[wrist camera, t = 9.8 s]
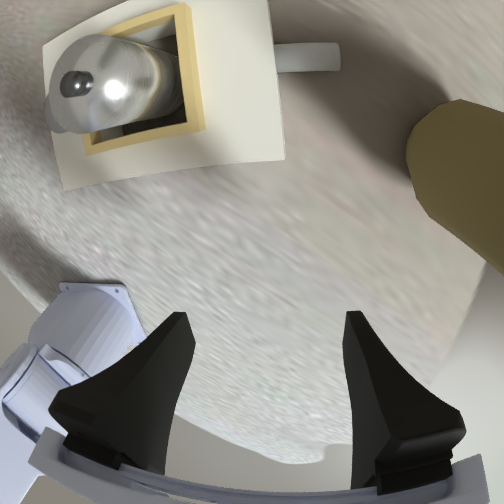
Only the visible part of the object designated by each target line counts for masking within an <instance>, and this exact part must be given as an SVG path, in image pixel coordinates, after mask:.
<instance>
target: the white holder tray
mask: <svg viewBox="0 0 504 504" xmlns="http://www.w3.org/2000/svg"><path fill="white" fill-rule="evenodd" d="M91 34H102V35H107V36H111V37H116V38H120V39H124V40H127V41H131V42H135V43H138V44H145V43H148V42H151V41H154V40H157V39H160V38H164V37H167V36H171V35H175V34H176V37H177V46H178V55H179V64H180V72H181V80H182V88H183V95H184V103H185V110H186V117H187V122H182V123H177V124H172V125H167V126H162V127H157V128H153V129H148V130H144V131H140V132H136V133H132V134H128V135H124V133H123V128H122V125H119V126H115V127H110V128H106V129H102V130H98V131H94V132H91V133H87V134H75V133H71V132H69V131H67V130H65V129H64V128H63V127H61V126H60V125H59V123H58V122H57V121H56V119H55V118H54V116H53V113H52V111H51V108H50V103H49V84H50V79H51V75H52V72H53V69H54V67H55V65H56V63H57V61H58V59H59V58H60V56H61V55H62V53H63V52H64V51H65V50H66V49H67V48H68V47H69V46H70V45H71V44H72V43H73V42H75V41H76V40H78V39H80V38H82V37H84V36H87V35H91ZM340 68H341V56H340V49H339V46H338V44H337V43H289V44H274V39H273V31H272V24H271V17H270V10H269V3H268V0H129V1H126V2H124V3H121V4H119V5H117V6H114V7H112V8H110V9H108V10H106V11H104V12H101V13H99V14H97V15H95V16H93V17H91V18H89V19H87V20H86V21H84V22H82V23H80V24H78V25H76V26H75V27H73V28H71V29H69V30H68V31H66V32H64V33H63V34H61V35H59V36H58V37H56V38H54V39H53V40H51V41H50V42H48V43H47V44H45V45H44V46H43V70H44V83H45V93H46V100H45V104H44V117H45V121H46V124H47V126H48V127H49V128H50V130H51V135H52V141H53V146H54V151H55V156H56V160H57V165H58V169H59V173H60V177H61V181H62V185H63V189H64V191H69V190H73V189H77V188H81V187H86V186H91V185H95V184H100V183H105V182H110V181H115V180H120V179H126V178H131V177H137V176H143V175H149V174H155V173H161V172H168V171H175V170H182V169H190V168H198V167H206V166H215V165H225V164H235V163H247V162H259V161H274V160H285V141H284V129H283V119H282V108H281V99H280V89H279V80H278V73H281V72H299V71H340Z"/></svg>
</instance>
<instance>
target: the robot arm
mask: <svg viewBox="0 0 504 504" xmlns="http://www.w3.org/2000/svg"><path fill="white" fill-rule="evenodd" d="M59 288H60V290H61V293H60V294H59V295H58V296H57V297H56V298H55V300H54V301H53V302H52V303H51V304H50V305H49V306H48V307H47V308H46V309H45V311H44V312H43V313H42V314H41V315H40V317H38V319H37V320H36V321H35V322H34V324H33V325H32V327H31V329H30V332H29V336H28V343H23V344H21V345H20V346H19V347H18V348H17V349H16V350H15V351H14V352H13V353H12V354H11V355H10V356H9V357H8V359H7V360H6V361H5V362H4V364H3V365H2V366H1V368H0V504H20V503H21V501H22V499H23V498H24V496H25V495H26V493H27V492H28V490H29V489H30V487H31V486H32V484H33V483H34V481H35V480H36V478H37V476H43V475H46V476H48V477H49V478H51V479H53V480H54V481H56V482H57V483H59V484H61V485H63V486H64V487H66V488H68V489H70V490H71V491H73V492H75V493H77V494H79V495H81V496H83V497H85V498H86V499H88V500H90V501H93V502H95V503H97V504H194V503H190V502H185V501H181V500H177V499H173V498H170V497H169V496H168V495H167V494H165V493H162V492H166V493H170V494H173V495H177V496H182V497H187V498H191V499H196V500H201V501H206V502H212V503H218V504H488V503H489V502H490V500H489V493H488V487H487V481H486V476H485V471H484V467H483V462H482V457H481V454H477V455H475V456H472V457H469V458H466V459H464V460H461V461H458V462H456V463H454V464H452V465H451V461H450V459H451V458H452V457H453V454H452V449H453V448H454V447H455V446H456V445H457V444H458V443H459V442H460V441H461V440H462V439H463V437H464V436H465V434H466V428H465V424H464V421H463V418H462V416H461V414H460V411H459V410H457V409H455V408H454V407H452V406H450V405H448V404H447V403H445V402H444V401H442V400H440V399H439V398H438V397H436V396H435V395H434V394H432V393H430V392H429V391H428V390H427V389H426V388H425V387H424V386H422V385H421V384H420V383H419V382H417V381H416V380H415V379H414V378H413V377H412V376H411V375H410V374H409V373H408V372H407V371H406V370H405V369H404V368H403V367H402V366H401V365H400V364H399V363H398V361H397V360H396V359H395V358H394V357H393V355H392V354H391V353H390V352H389V351H388V349H387V348H386V347H385V345H384V344H383V343H382V341H381V340H380V339H379V337H378V336H377V334H376V333H375V332H374V330H373V329H372V327H371V326H370V324H369V323H368V321H367V319H366V318H365V316H364V315H363V313H362V312H361V311H347V313H346V321H345V329H344V336H343V343H342V345H343V359H344V368H345V373H346V379H347V384H348V390H349V396H350V402H351V409H352V429H353V455H352V477H351V489H350V490H341V491H327V492H299V493H298V492H295V493H294V492H265V491H251V490H241V489H232V488H224V487H217V486H211V485H205V484H199V483H193V482H189V481H184V480H180V479H175V478H171V477H167V476H164V475H165V463H166V453H167V446H168V440H169V434H170V429H171V424H172V419H173V415H174V411H175V406H176V403H177V400H178V397H179V394H180V392H181V389H182V386H183V384H184V381H185V378H186V376H187V373H188V370H189V368H190V365H191V362H192V358H193V354H194V349H195V344H196V342H195V339H194V336H193V333H192V330H191V327H190V324H189V321H188V317H187V314H186V312H173V313H172V314H171V315H170V316H169V317H168V318H167V319H166V320H165V321H164V322H163V323H161V324H160V325H159V326H158V327H157V328H156V329H155V330H154V331H153V332H152V333H151V334H150V335H149V336H148V337H146V334H145V332H144V330H143V328H142V325H141V323H140V321H139V319H138V316H137V314H136V311H135V309H134V307H133V304H132V302H131V299H130V297H129V294H128V292H127V289H126V287H125V286H124V285H121V284H91V283H66V282H61V283H60V284H59ZM117 289H118V290H117ZM129 345H133V346H136V347H135V348H134V349H133V350H132V351H131V352H129V353H128V354H127V355H125V356H124V357H123V358H122V356H123V355H124V353H125V351H126V349H127V348H128V346H129ZM9 409H10V410H11V411H12V412H13V413H14V414H13V413H12V412H11V411H10V410H9ZM19 418H20V419H21V420H22V421H23V422H22V421H21V420H20V419H19ZM26 424H27V425H28V426H29V427H28V426H27V425H26ZM32 429H33V430H34V431H33V430H32ZM37 433H38V434H39V435H38V434H37ZM154 489H155V490H154ZM157 490H158V491H157ZM160 491H162V492H160Z"/></svg>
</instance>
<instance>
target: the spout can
mask: <svg viewBox="0 0 504 504" xmlns="http://www.w3.org/2000/svg"><path fill="white" fill-rule="evenodd" d="M183 102H184V95H183V88H182V80H181V72H180V64H179V57H177V56H176V55H173V54H171V53H168V52H165V51H162V50H159V49H155V48H152V47H149V46H145V45H142V44H138V43H135V42H131V41H127V40H124V39H120V38H116V37H111V36H107V35H102V34H91V35H87V36H84V37H82V38H80V39H78V40H76V41H75V42H73V43H72V44H71V45H70V46H69V47H68V48H67V49H66V50H65V51H64V52H63V53H62V55H61V56H60V58H59V59H58V61H57V63H56V65H55V67H54V69H53V72H52V75H51V79H50V84H49V103H50V108H51V111H52V113H53V116H54V118H55V119H56V121H57V122H58V123H59V125H60V126H61V127H63V128H64V129H65V130H67V131H69V132H71V133H75V134H87V133H91V132H94V131H98V130H102V129H106V128H110V127H115V126H119V125H123V124H128V123H133V122H138V121H143V120H148V119H153V118H159V117H164V116H167V115H169V114H171V113H172V112H174V111H175V110H177V109H178V108H179V107H180V106H181V105H182V103H183Z"/></svg>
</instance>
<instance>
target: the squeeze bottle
mask: <svg viewBox="0 0 504 504" xmlns="http://www.w3.org/2000/svg"><path fill="white" fill-rule="evenodd" d="M406 162H407V165H408V169H409V173H410V176H411V180H412V183H413V187H414V191H415V195H416V198H417V200H418V201H419V203H420V204H421V206H422V207H423V208H424V210H425V211H426V213H427V214H428V216H429V217H430V218H431V219H433V220H434V221H436V222H437V223H438V224H440V225H441V226H443V227H444V228H445V229H447V230H448V231H449V232H451V233H452V234H453V235H455V236H456V237H457V238H459V239H460V240H461V241H462V242H464V243H465V244H466V245H468V246H469V247H470V248H471V249H473V250H474V251H475V252H476V253H478V254H479V255H480V256H481V257H482V258H484V259H485V260H486V261H487V262H488V263H489V264H491V265H492V266H493V267H494V268H495V269H496V270H498V271H499V272H500V273H501V274H502V275H503V276H504V113H503V112H500V111H497V110H495V109H492V108H489V107H485V106H482V105H479V104H476V103H472V102H469V101H465V100H462V99H459V100H455V101H451V102H447V103H443V104H440V105H438V106H437V107H436V108H435V109H433V110H432V111H431V112H429V113H428V114H427V115H426V116H424V117H423V118H422V119H421V120H420V121H419V122H418V123H417V124H416V125H415V126H414V127H413V128H412V131H411V133H410V135H409V137H408V140H407V143H406Z"/></svg>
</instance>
